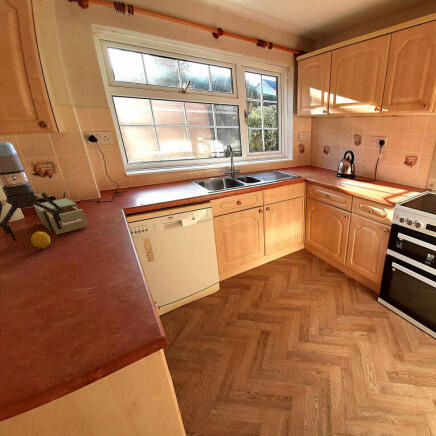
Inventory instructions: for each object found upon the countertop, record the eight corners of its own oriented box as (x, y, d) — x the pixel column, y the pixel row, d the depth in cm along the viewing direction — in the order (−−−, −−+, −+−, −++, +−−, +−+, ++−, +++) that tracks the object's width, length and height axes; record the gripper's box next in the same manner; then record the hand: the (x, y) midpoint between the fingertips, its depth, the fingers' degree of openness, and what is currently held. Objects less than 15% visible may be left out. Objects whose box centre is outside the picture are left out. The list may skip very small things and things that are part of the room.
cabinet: (82, 222, 132) (76, 203, 128) (49, 230, 121) (40, 210, 118) (73, 215, 141) (66, 198, 137) (41, 223, 131) (33, 204, 127)
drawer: (92, 228, 121) (86, 211, 118) (59, 237, 112) (52, 219, 109) (78, 219, 133) (72, 204, 130) (48, 226, 124) (41, 210, 121)
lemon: (42, 252, 101) (34, 234, 98) (32, 251, 102) (23, 234, 99) (56, 245, 106) (49, 229, 103) (46, 245, 107) (39, 228, 104)
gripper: (-36, 193, 82) (-6, 248, 90) (60, 179, 101) (78, 226, 108) (-37, 190, 86) (-8, 243, 94) (55, 177, 105) (73, 222, 113)
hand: (38, 234), depth 101 cm, fingers open, 13 cm apart
